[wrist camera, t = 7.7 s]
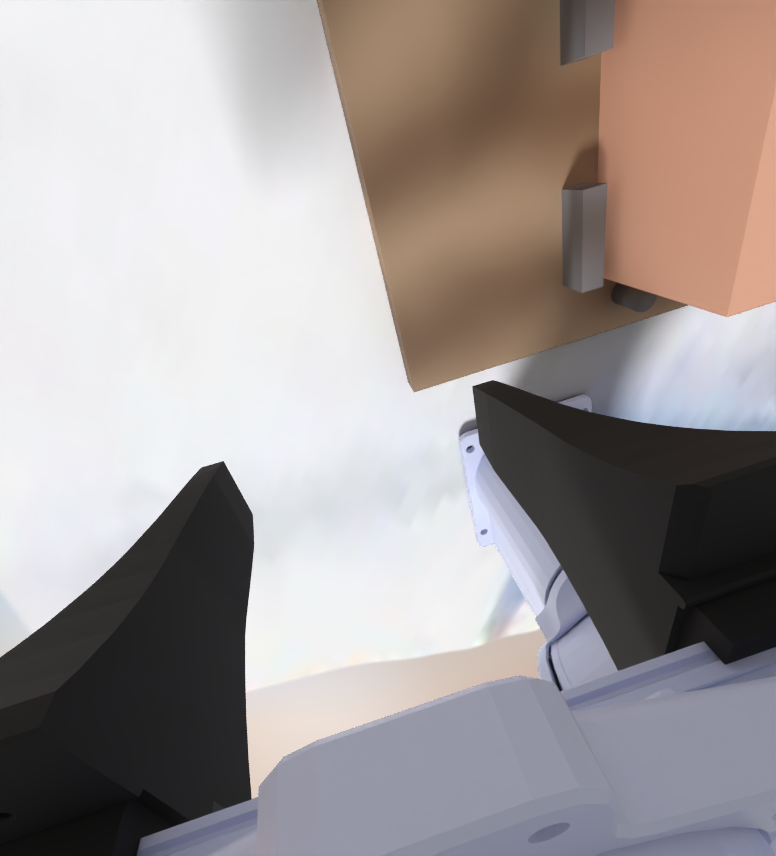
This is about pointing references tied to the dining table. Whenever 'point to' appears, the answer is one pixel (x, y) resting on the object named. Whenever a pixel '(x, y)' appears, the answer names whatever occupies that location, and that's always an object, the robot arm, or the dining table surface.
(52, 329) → the dining table surface
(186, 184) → the dining table surface
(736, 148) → the door panel
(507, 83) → the cabinet side board
